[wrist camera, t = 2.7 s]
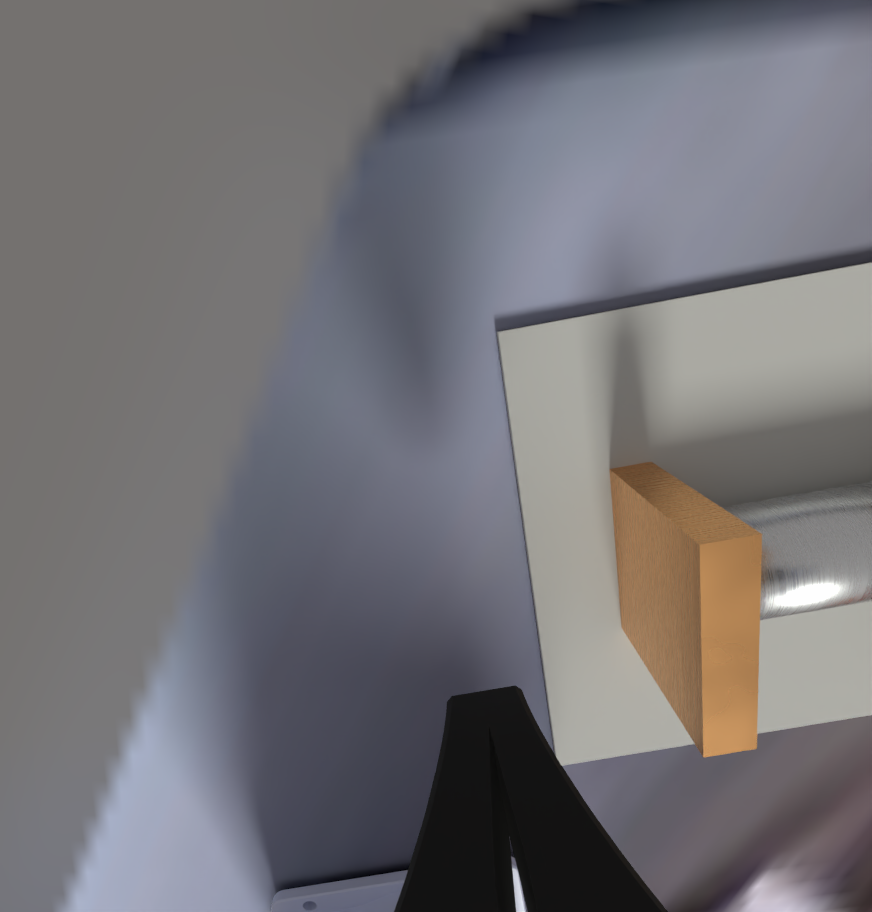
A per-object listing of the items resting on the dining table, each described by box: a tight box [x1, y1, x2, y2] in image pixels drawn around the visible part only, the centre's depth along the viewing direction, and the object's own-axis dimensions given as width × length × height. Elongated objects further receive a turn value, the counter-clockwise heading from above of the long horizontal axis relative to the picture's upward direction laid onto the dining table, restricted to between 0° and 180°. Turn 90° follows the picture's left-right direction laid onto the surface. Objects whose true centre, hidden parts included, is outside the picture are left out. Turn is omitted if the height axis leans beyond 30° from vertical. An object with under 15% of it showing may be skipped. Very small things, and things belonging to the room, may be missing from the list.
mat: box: [496, 262, 872, 766], centre depth 14 cm, size 19×15×1 cm
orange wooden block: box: [609, 462, 872, 757], centre depth 12 cm, size 9×5×5 cm, turn 100°
